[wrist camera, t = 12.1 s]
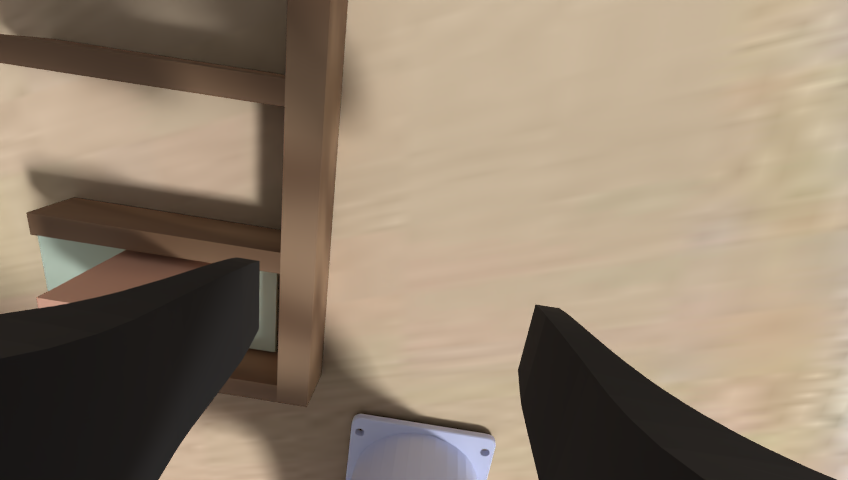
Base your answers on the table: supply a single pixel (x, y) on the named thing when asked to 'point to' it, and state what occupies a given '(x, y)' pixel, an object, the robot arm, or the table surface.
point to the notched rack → (214, 239)
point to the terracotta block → (117, 276)
